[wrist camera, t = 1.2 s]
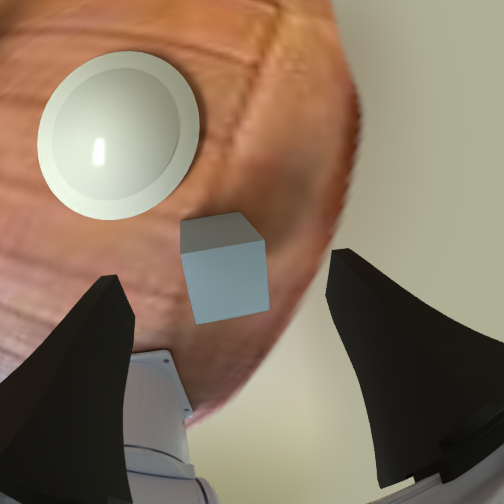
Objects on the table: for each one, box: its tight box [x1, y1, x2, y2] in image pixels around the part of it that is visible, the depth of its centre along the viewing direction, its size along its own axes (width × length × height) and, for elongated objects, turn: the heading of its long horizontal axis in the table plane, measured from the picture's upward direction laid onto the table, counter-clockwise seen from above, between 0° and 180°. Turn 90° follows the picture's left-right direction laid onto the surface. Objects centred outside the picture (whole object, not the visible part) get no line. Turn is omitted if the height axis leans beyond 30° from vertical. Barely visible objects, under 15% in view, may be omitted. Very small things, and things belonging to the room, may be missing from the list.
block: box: [180, 212, 270, 325], centre depth 17 cm, size 4×4×6 cm
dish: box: [37, 51, 200, 220], centre depth 15 cm, size 11×11×1 cm
